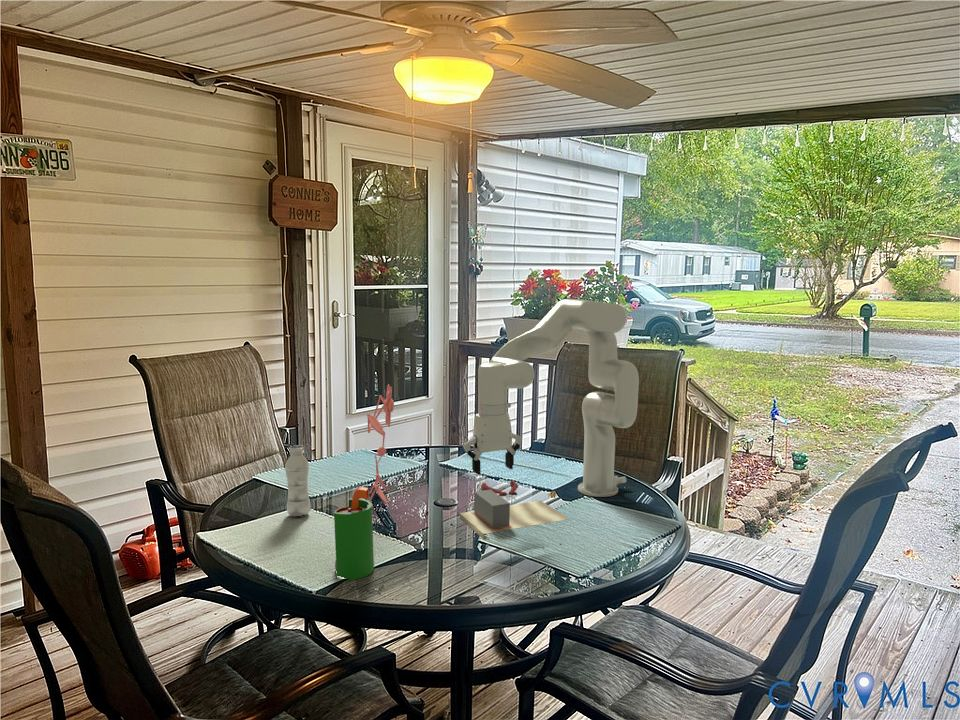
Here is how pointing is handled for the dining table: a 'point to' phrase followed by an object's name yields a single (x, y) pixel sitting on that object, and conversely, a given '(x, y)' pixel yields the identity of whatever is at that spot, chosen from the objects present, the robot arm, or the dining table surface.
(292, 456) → the plastic bottle
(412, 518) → the dining table surface
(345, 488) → the dining table surface
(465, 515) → the board
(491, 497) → the block
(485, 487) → the pliers
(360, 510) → the green cylindrical container
